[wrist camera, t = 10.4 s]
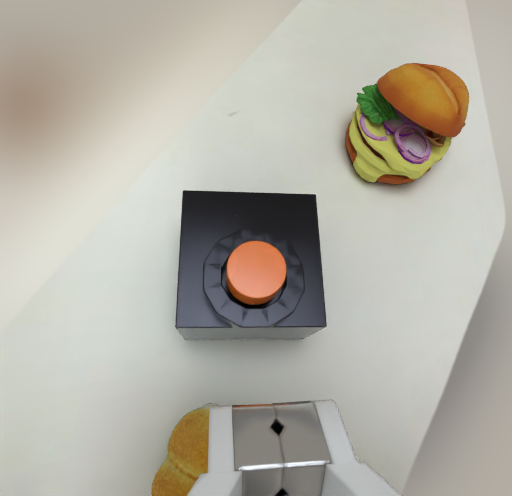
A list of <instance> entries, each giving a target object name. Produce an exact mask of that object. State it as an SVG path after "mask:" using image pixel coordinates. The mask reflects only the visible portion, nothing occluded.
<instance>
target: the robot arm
mask: <svg viewBox="0 0 512 496" xmlns="http://www.w3.org/2000/svg"><path fill="white" fill-rule="evenodd" d="M187 496H402V495H401V494H400V493H399V492H398V491H396V490H395V489H394V488H393V487H392V486H391V485H390V484H389V483H388V482H386V481H385V480H384V479H383V478H382V477H381V476H380V475H379V474H378V473H376V472H375V471H374V470H373V469H372V468H371V467H370V466H369V465H368V464H366V463H365V462H364V461H363V462H358V461H357V458H356V456H355V453H354V450H353V448H352V445H351V442H350V440H349V437H348V434H347V432H346V429H345V426H344V423H343V421H342V418H341V415H340V413H339V410H338V407H337V405H336V403H335V401H334V400H318V401H300V402H286V403H272V404H260V405H232V408H231V406H210V411H209V446H208V473H203V474H201V475H200V476H199V478H198V479H197V481H196V482H195V484H194V485H193V487H192V488H191V490H190V492H189V493H188V495H187Z"/></svg>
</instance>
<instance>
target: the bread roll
mask: <svg viewBox="0 0 512 496" xmlns="http://www.w3.org/2000/svg"><path fill="white" fill-rule="evenodd" d="M210 406H219V405H217V404H211V403H209V404H207V405H206V406H204V407H202V408H199V409H196V410H193V411H191V412H189V413H188V414H186V415H185V416H184V417H183V418H182V419H181V421H180V422H179V423H178V424H177V426H176V427H175V429H174V430H173V432H172V435H171V437H170V440H169V445H168V455H167V457H166V460H165V462H164V463H163V464H162V465H161V467H160V468H159V470H158V472H157V473H156V475H155V477H154V480H153V484H152V496H187V495H188V493H189V492H190V490H191V488H192V487H193V485H194V484H195V482H196V481H197V479H198V478H199V476H200V475H201V474H203V473H208V446H209V411H210Z"/></svg>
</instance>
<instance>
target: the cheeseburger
mask: <svg viewBox="0 0 512 496" xmlns="http://www.w3.org/2000/svg"><path fill="white" fill-rule="evenodd" d="M362 90H363V91H364V93H365V94H361V93H357V94H358V98H357V100H356V101H357V102H358V107H357V109H356V111H355V112H354V113H353V118H352V120H351V122H350V124H349V126H348V129H347V133H346V147H347V150H348V153H349V155H350V158H351V160H352V162H353V166H354V168H355V170H356V172H357V173H358V174H359V175H360V176H361V177H362V178H363V179H365V180H367V181H369V182H376V181H378V182H383V183H390V184H402V183H408V182H413V181H414V180H416V179H417V178H419V177H421V176H422V175H423V174H425V173H426V172H428V171H429V170H430V169H431V166H432V165H433V164H434V163H436V162H437V161H439V160H441V159H442V157H443V156H444V154H445V153H446V151H447V149H448V148H449V146H450V143H451V139H452V137H455V136H457V135H458V134H459V133H460V132H461V129H462V128H463V127H464V126H465V120H466V116H467V111H468V104H469V93H468V90H467V87H466V85H465V83H464V81H463V80H461V79H460V78H459V77H458V76H457V75H456V74H454V73H453V72H451V71H450V70H448V69H446V68H444V67H440V66H435V65H427V64H418V63H411V64H404V65H402V66H400V67H398V68H395V69H393V70H390V71H389V72H388V73H386V74H385V75H384V76H383V77H381V78H380V79H379V80H378V82H377V84H375V85H371V86H366V87H363V88H362Z"/></svg>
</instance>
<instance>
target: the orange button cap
mask: <svg viewBox="0 0 512 496" xmlns="http://www.w3.org/2000/svg"><path fill="white" fill-rule="evenodd" d="M285 278H286V263H285V260H284V258H283V256H282V254H281V253H280V252H279V251H278V250H277V249H276V248H275V247H274V246H272V245H271V244H268V243H266V242H262V241H249V242H246V243H243V244H241V245H239V246H238V247H237V248H236V249H235V250H234V251H233V252H232V253H231V255H230V257H229V259H228V262H227V270H226V282H227V286H228V288H229V290H230V292H231V294H232V295H233V296H234V297H235V298H236V299H238V300H239V301H241V302H243V303H246V304H250V305H259V304H263V303H266V302H268V301H269V300H271V299H272V298H273V297H274V296H275V295H276V294H277V292H278V291H279V289H280V288H281V286H282V285H283V283H284V281H285Z"/></svg>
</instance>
